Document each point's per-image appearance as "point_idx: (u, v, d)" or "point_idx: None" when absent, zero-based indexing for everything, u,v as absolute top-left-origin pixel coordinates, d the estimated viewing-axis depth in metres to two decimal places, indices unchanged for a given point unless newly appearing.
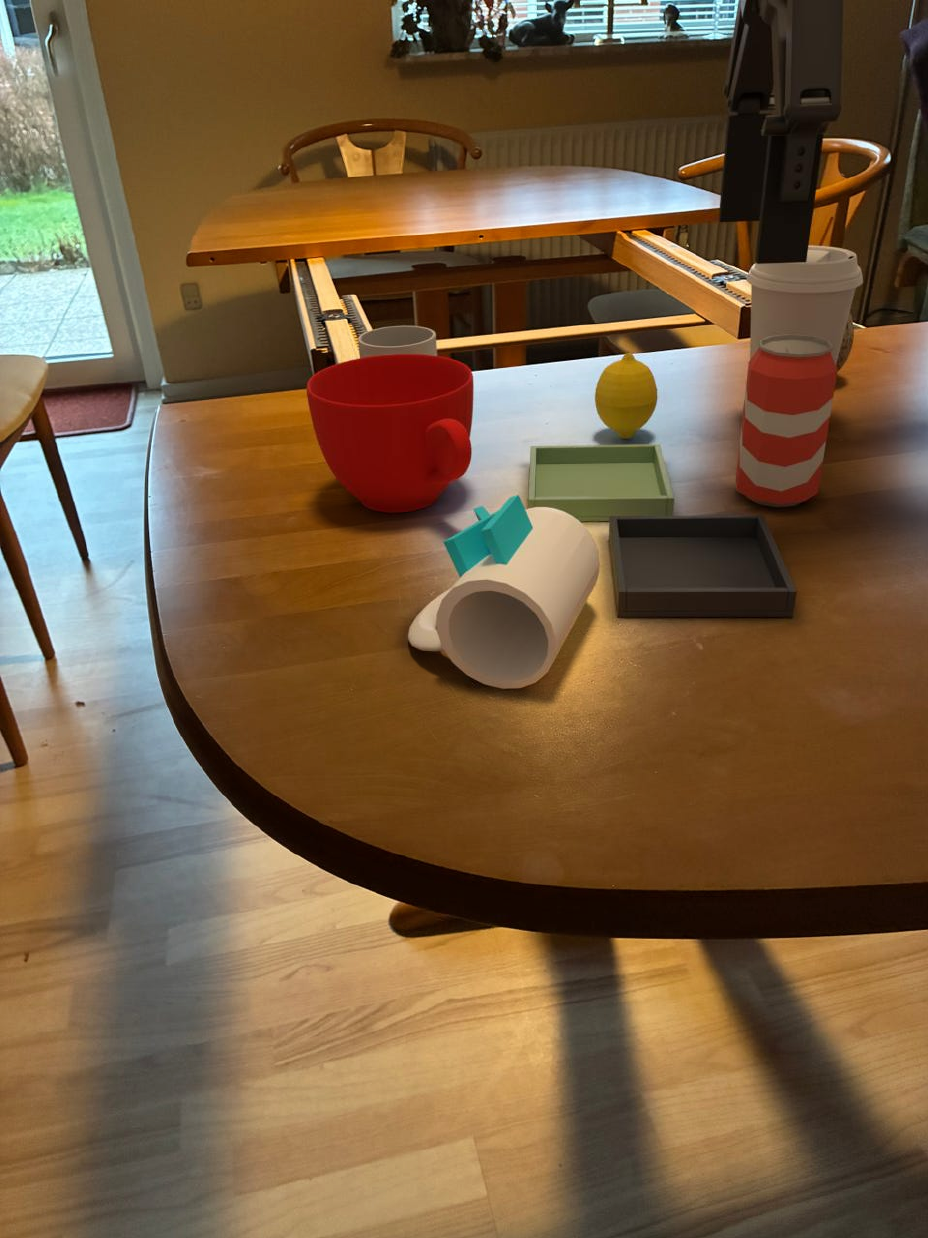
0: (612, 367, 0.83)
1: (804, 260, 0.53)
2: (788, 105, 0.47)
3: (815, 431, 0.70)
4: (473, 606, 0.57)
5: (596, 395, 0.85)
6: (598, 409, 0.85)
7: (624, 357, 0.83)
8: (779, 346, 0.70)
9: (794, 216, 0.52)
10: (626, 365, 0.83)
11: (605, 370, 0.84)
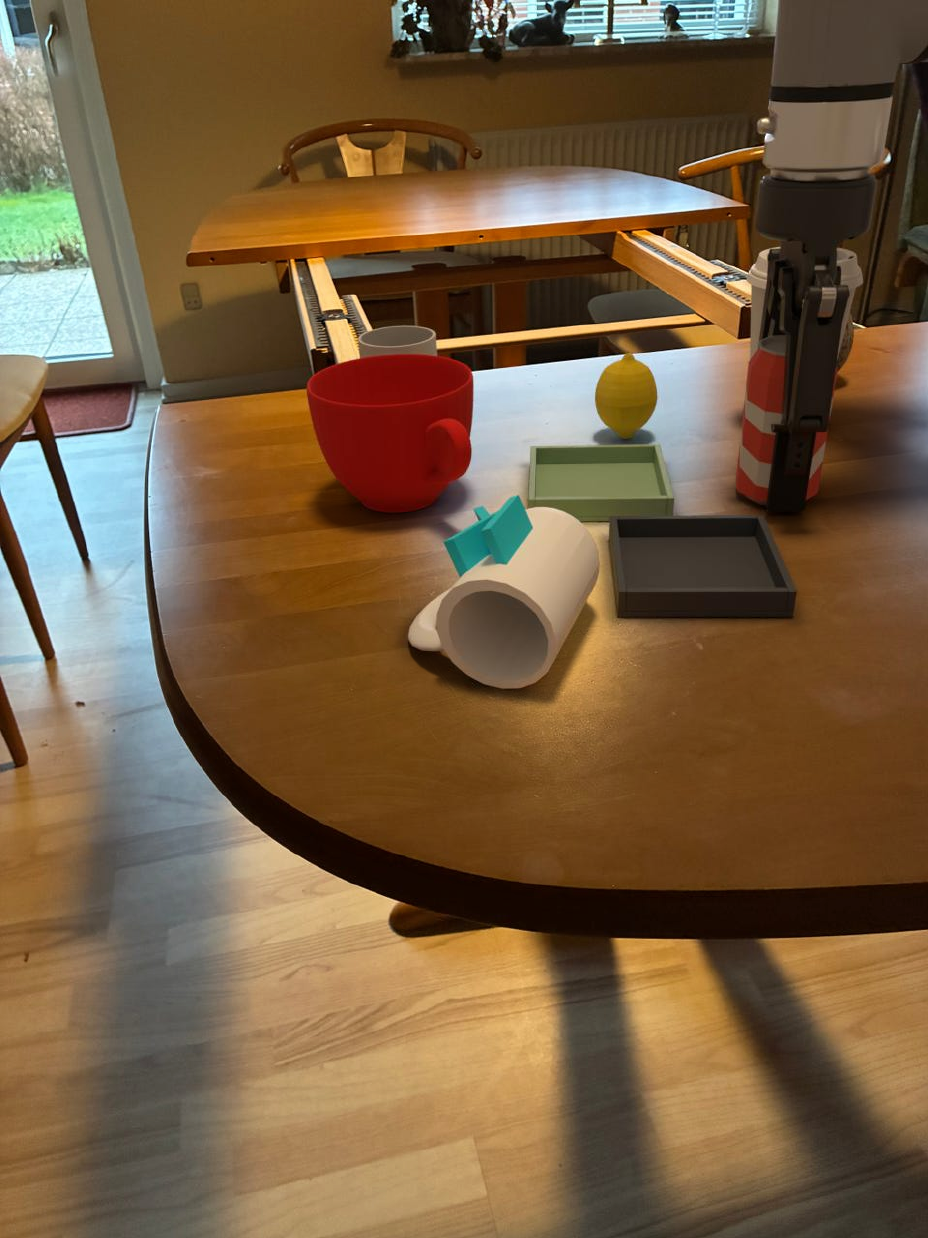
0: (612, 368, 0.83)
1: (802, 510, 0.72)
2: (791, 423, 0.66)
3: None
4: (473, 606, 0.57)
5: (596, 395, 0.85)
6: (598, 409, 0.85)
7: (624, 357, 0.83)
8: (779, 346, 0.70)
9: (795, 481, 0.71)
10: (626, 365, 0.83)
11: (605, 370, 0.84)
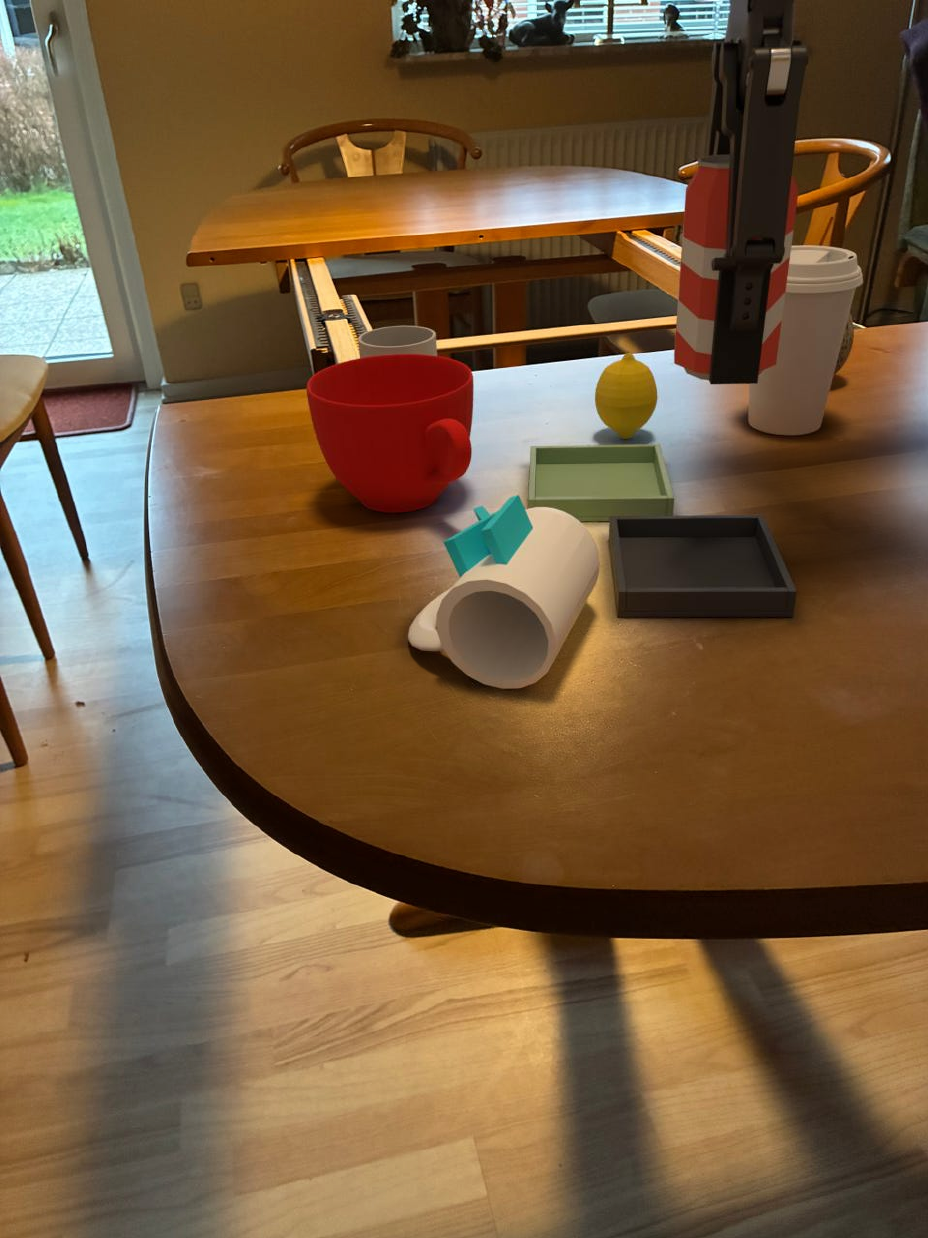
0: (612, 368, 0.83)
1: (755, 382, 0.56)
2: (734, 250, 0.50)
3: None
4: (473, 606, 0.57)
5: (596, 395, 0.85)
6: (598, 409, 0.85)
7: (624, 357, 0.83)
8: None
9: (745, 342, 0.55)
10: (626, 365, 0.83)
11: (605, 370, 0.84)
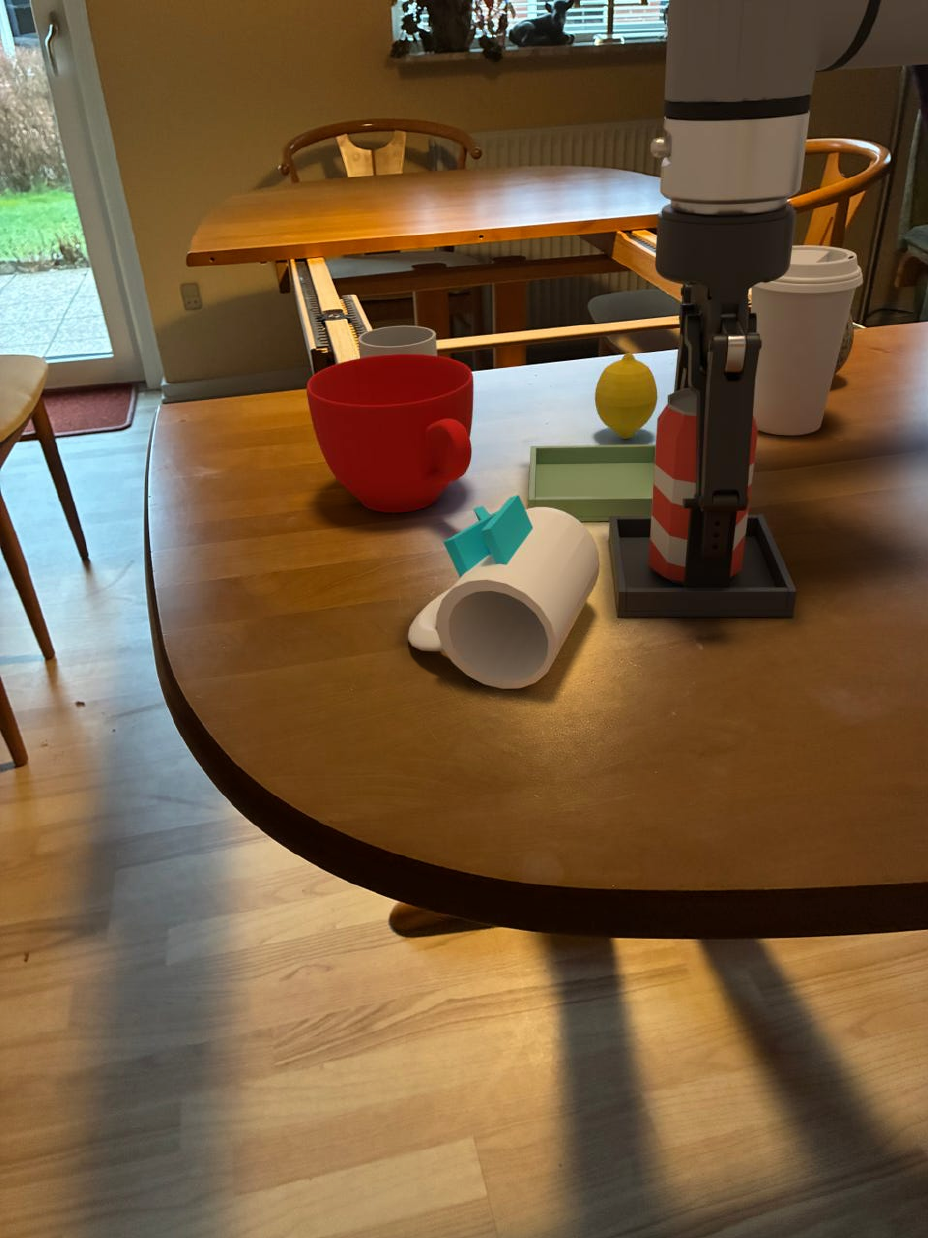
0: (612, 367, 0.83)
1: None
2: (702, 499, 0.54)
3: None
4: (473, 606, 0.57)
5: (596, 395, 0.85)
6: (598, 409, 0.85)
7: (624, 357, 0.83)
8: (691, 402, 0.59)
9: (715, 563, 0.59)
10: (626, 365, 0.83)
11: (605, 370, 0.84)
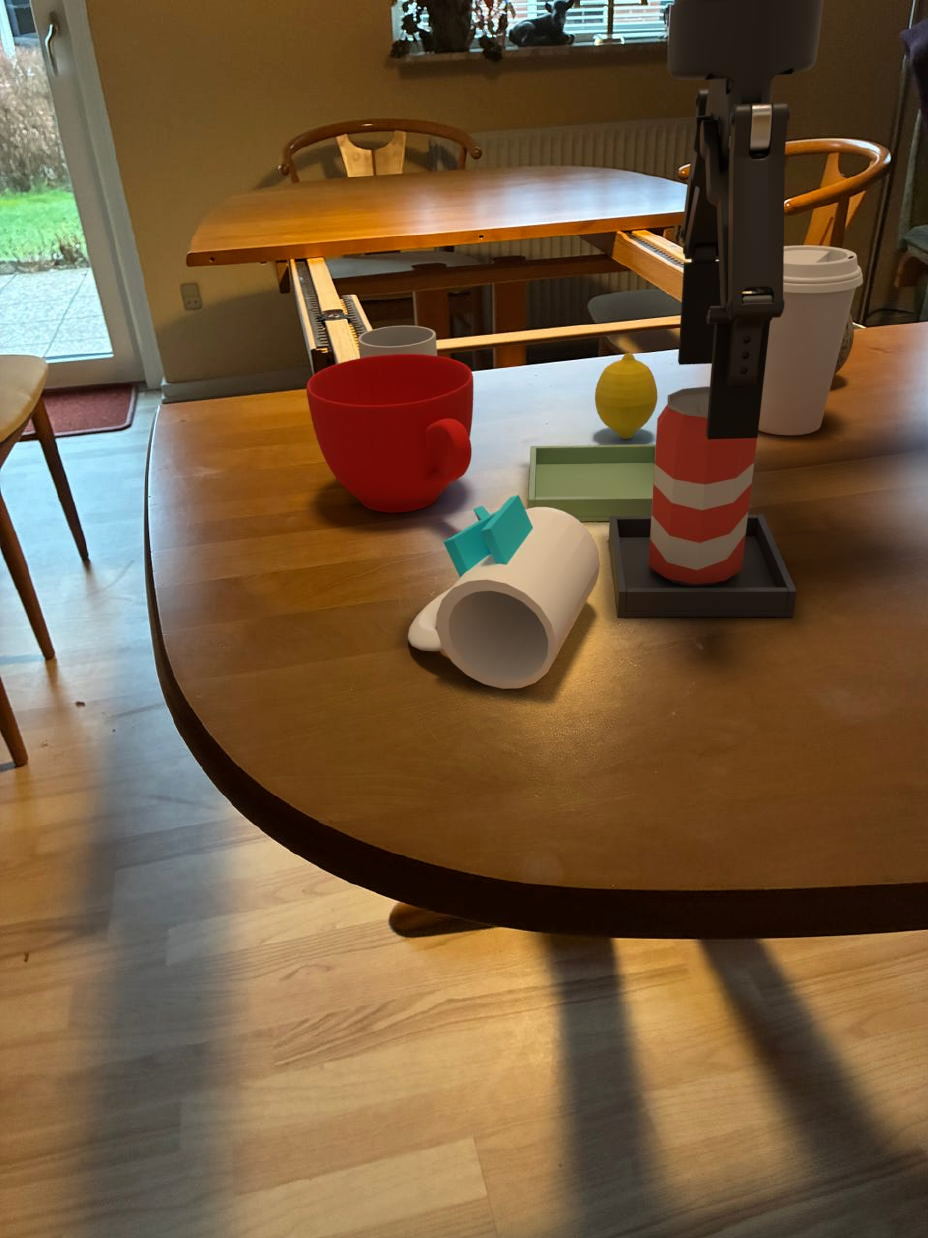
0: (612, 368, 0.83)
1: (755, 436, 0.53)
2: (730, 302, 0.46)
3: (733, 502, 0.59)
4: (473, 606, 0.57)
5: (596, 395, 0.85)
6: (598, 409, 0.85)
7: (624, 357, 0.83)
8: (691, 402, 0.59)
9: (743, 395, 0.51)
10: (626, 365, 0.83)
11: (605, 370, 0.84)
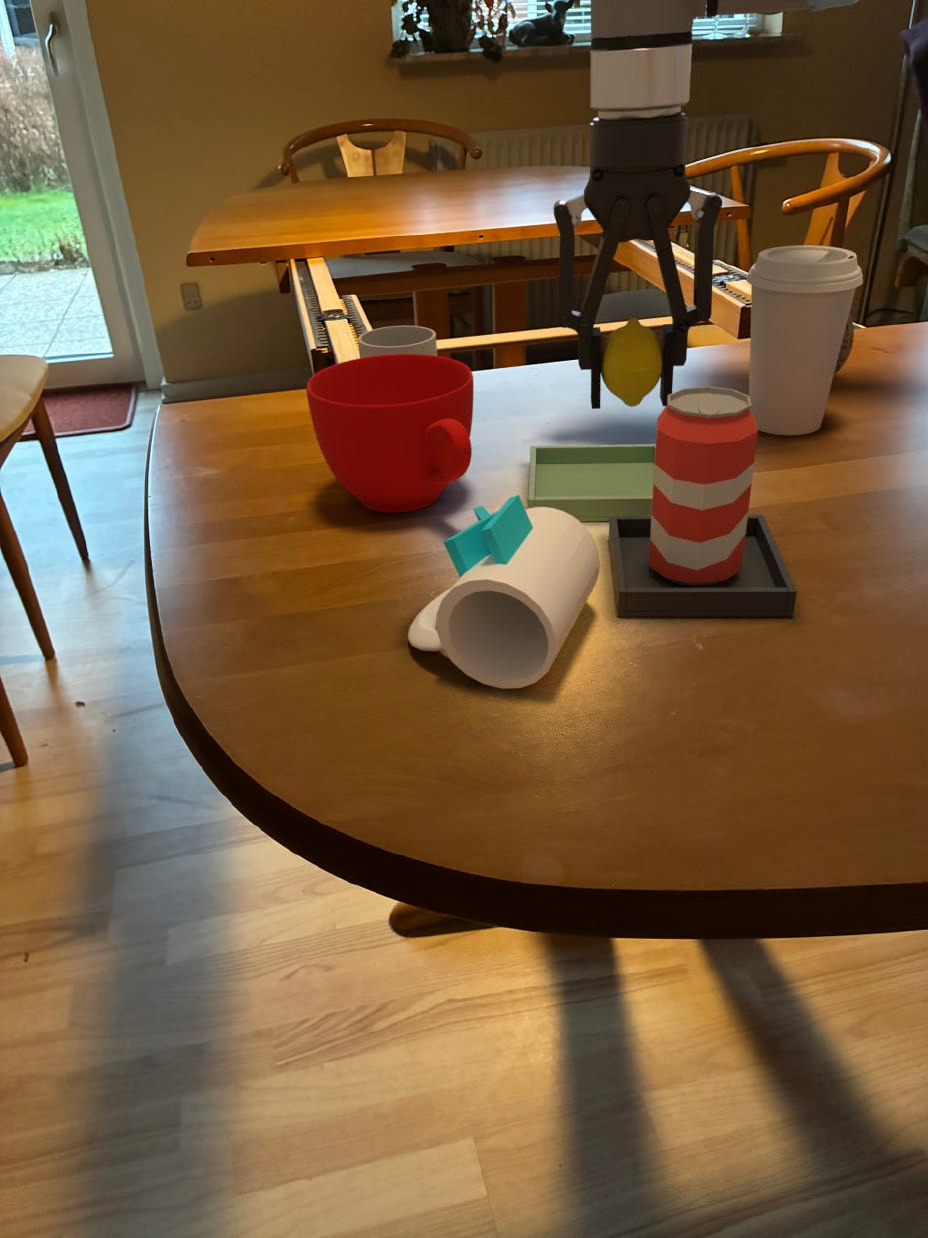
0: (617, 333, 0.82)
1: None
2: None
3: (733, 502, 0.59)
4: (473, 606, 0.57)
5: (601, 362, 0.83)
6: (603, 376, 0.84)
7: (629, 322, 0.82)
8: (691, 402, 0.59)
9: (591, 378, 0.84)
10: (631, 330, 0.81)
11: (610, 336, 0.82)
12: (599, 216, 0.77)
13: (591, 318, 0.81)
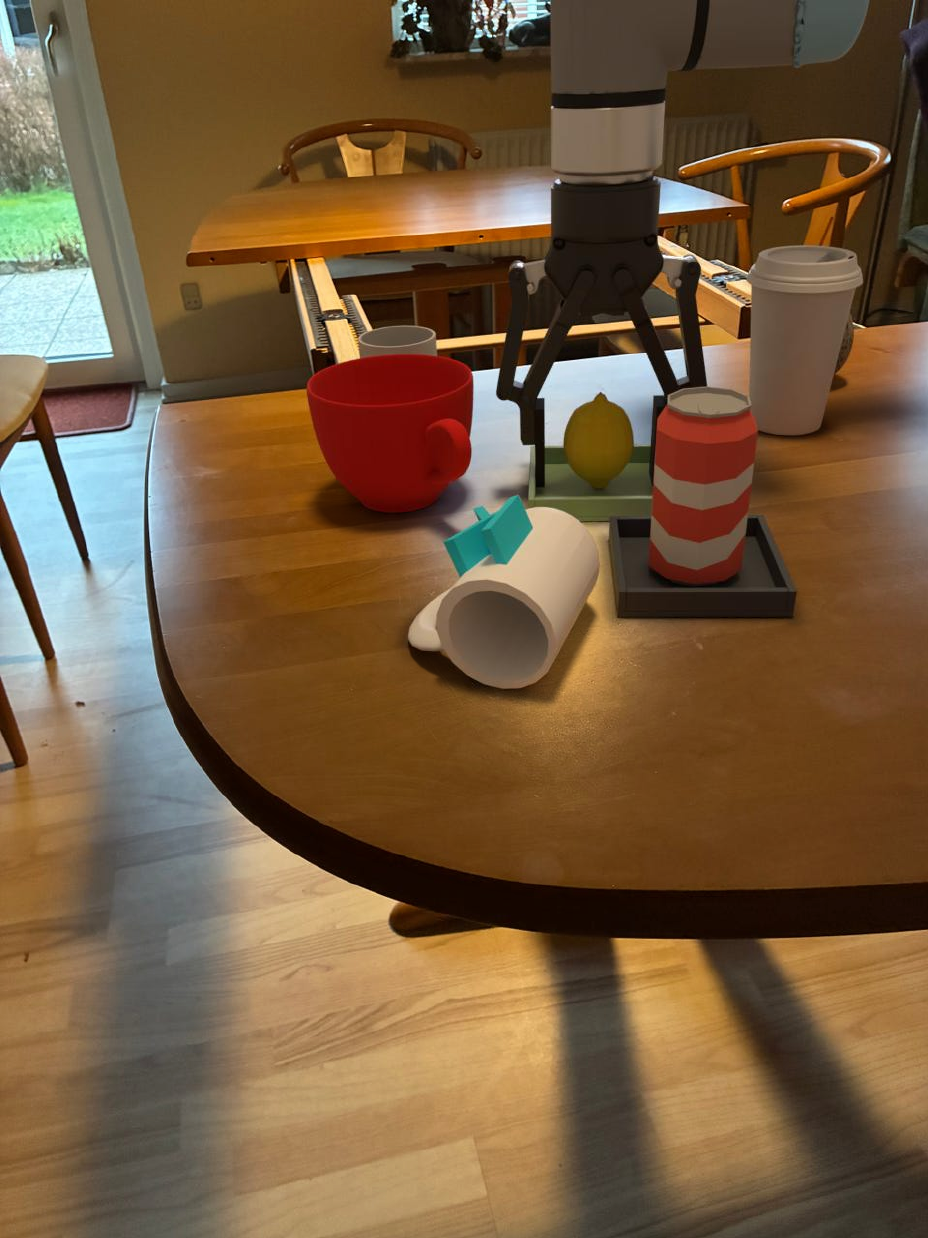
0: (582, 410, 0.73)
1: None
2: None
3: (733, 502, 0.59)
4: (473, 606, 0.57)
5: (564, 441, 0.75)
6: (567, 456, 0.75)
7: (596, 398, 0.73)
8: (691, 402, 0.59)
9: None
10: (598, 408, 0.73)
11: (574, 413, 0.74)
12: (561, 288, 0.68)
13: (534, 392, 0.72)
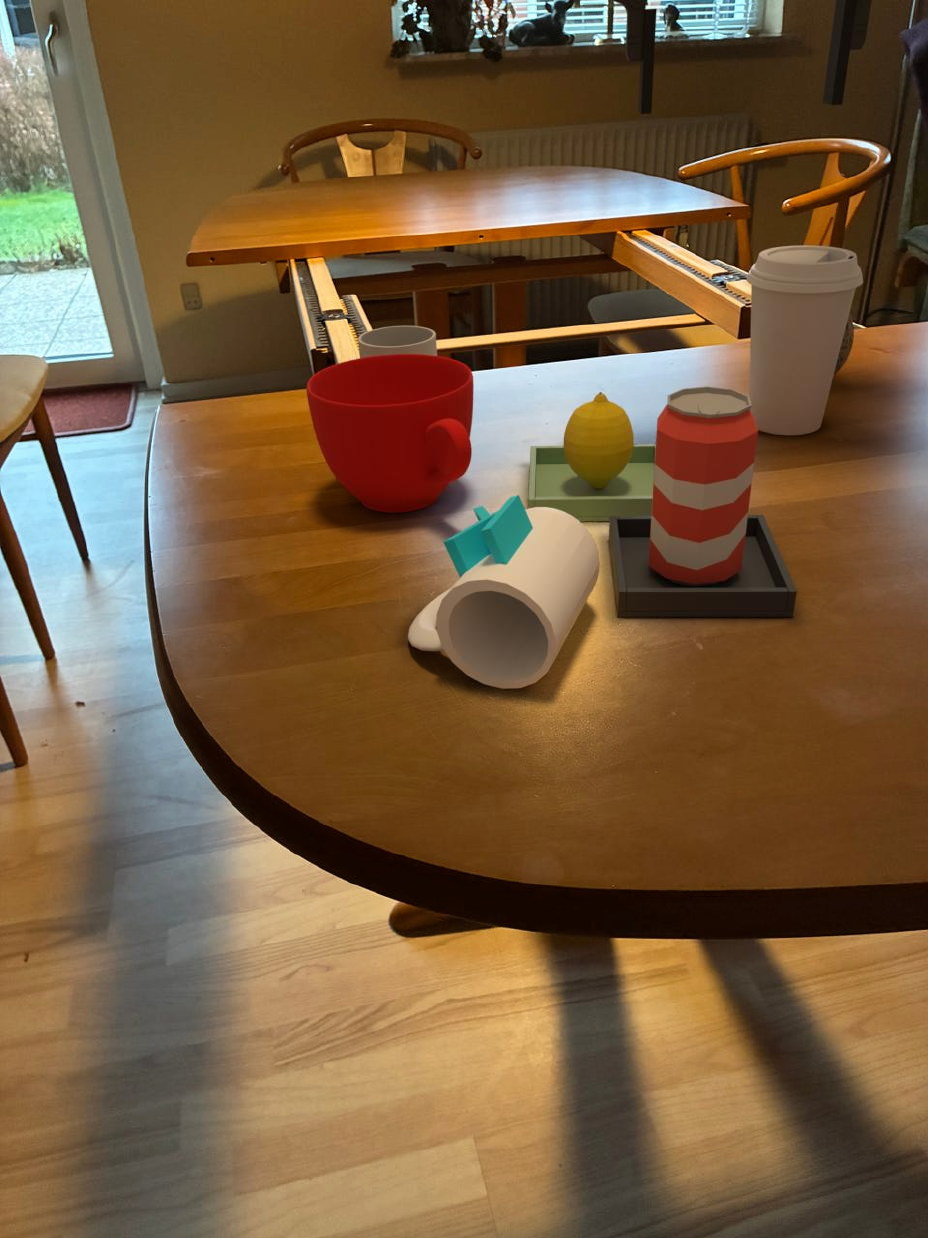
0: (582, 410, 0.73)
1: (640, 112, 0.70)
2: None
3: (733, 502, 0.59)
4: (473, 606, 0.57)
5: (564, 441, 0.75)
6: (567, 456, 0.75)
7: (596, 398, 0.73)
8: (691, 402, 0.59)
9: (641, 75, 0.69)
10: (598, 408, 0.73)
11: (574, 413, 0.74)
12: None
13: None
